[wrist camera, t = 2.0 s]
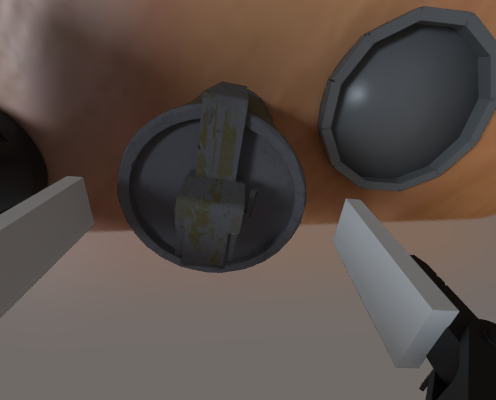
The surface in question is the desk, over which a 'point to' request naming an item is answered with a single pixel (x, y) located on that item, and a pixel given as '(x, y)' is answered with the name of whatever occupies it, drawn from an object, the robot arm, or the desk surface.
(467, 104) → the round tray
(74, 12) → the desk surface
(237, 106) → the canister
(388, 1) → the desk surface
